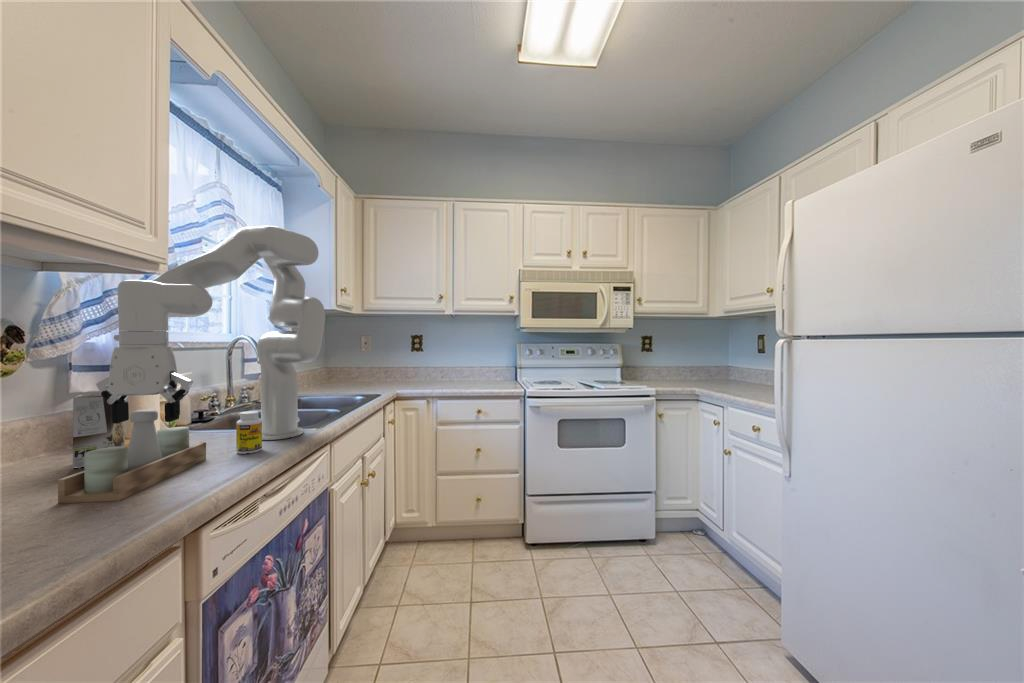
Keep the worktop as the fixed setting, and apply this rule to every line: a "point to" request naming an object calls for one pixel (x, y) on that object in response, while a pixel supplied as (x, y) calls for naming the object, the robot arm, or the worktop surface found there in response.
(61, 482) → the spice rail
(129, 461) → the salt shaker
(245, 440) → the supplement bottle
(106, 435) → the coffee box
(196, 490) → the worktop surface
